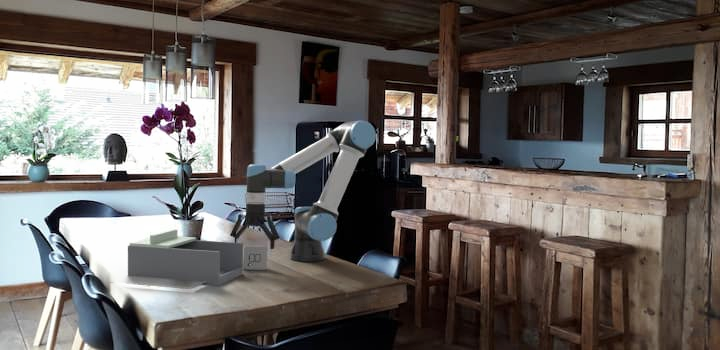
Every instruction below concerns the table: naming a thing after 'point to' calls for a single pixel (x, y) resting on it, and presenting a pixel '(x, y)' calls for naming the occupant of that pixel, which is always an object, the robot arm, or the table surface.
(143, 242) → the cover
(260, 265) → the electrical switch
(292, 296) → the table surface
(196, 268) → the housing
